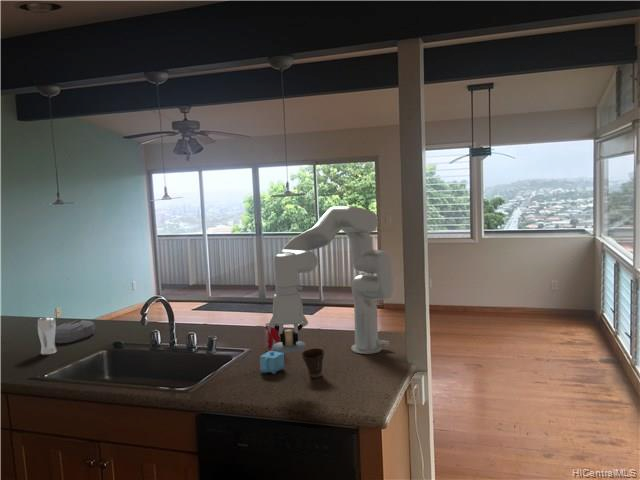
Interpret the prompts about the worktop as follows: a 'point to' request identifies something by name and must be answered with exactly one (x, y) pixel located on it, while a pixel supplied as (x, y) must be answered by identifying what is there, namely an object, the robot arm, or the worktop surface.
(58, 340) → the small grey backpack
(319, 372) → the cup
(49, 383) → the worktop surface
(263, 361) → the light blue box
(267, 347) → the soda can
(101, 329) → the worktop surface
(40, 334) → the beer glass
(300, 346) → the lid
